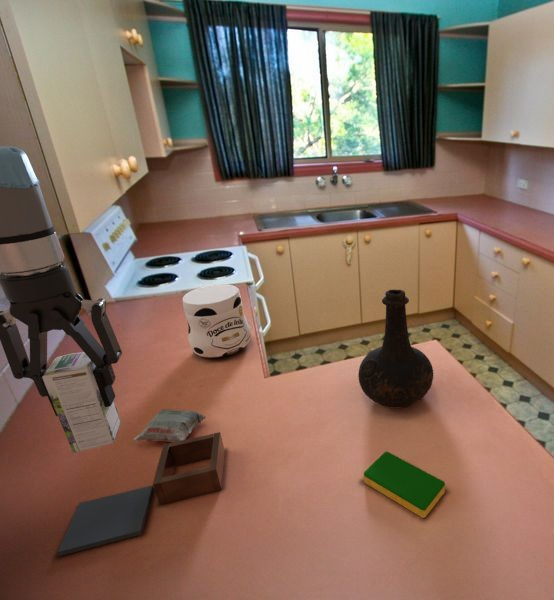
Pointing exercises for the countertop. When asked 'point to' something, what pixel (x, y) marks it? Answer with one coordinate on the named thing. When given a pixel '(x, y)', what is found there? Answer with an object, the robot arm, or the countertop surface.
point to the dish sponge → (405, 483)
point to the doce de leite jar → (216, 321)
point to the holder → (192, 481)
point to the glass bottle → (395, 361)
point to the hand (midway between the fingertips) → (86, 405)
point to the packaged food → (170, 426)
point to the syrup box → (80, 403)
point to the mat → (107, 520)
